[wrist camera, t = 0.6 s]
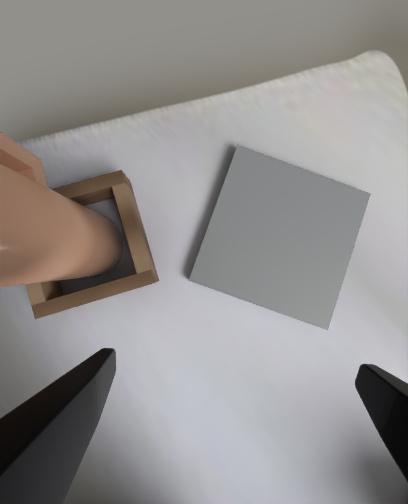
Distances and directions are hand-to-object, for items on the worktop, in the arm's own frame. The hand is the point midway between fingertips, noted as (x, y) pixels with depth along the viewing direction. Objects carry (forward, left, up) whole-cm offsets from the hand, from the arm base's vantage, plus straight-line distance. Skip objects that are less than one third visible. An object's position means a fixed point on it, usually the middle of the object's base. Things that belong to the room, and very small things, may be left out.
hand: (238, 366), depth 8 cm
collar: (+1, +13, -14) cm, 19 cm away
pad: (+8, -4, -14) cm, 17 cm away
